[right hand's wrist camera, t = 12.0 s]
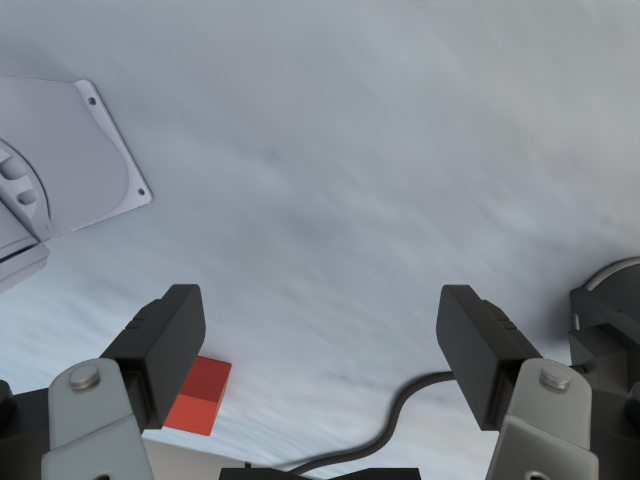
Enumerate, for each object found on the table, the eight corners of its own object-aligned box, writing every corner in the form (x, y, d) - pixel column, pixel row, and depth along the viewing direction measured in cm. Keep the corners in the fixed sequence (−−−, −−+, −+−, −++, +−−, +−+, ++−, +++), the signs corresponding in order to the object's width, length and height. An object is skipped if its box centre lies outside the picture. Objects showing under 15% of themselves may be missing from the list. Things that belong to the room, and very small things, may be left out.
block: (189, 353, 33) (168, 391, 29) (232, 364, 34) (218, 403, 29) (182, 385, 35) (161, 426, 30) (223, 394, 35) (209, 436, 30)
